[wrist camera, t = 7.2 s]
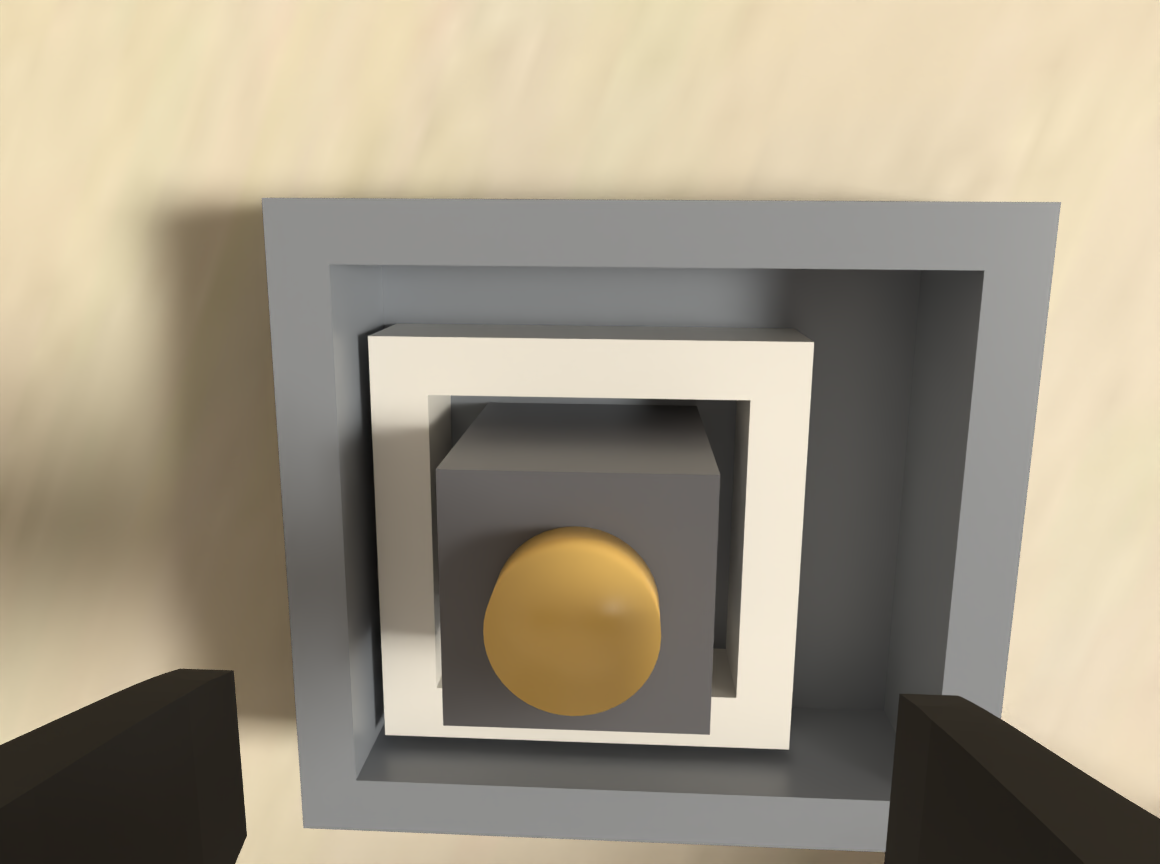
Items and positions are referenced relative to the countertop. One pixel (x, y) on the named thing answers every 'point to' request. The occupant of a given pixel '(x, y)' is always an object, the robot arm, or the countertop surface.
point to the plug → (579, 569)
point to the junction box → (746, 502)
